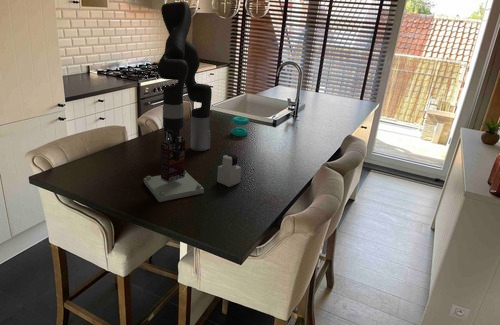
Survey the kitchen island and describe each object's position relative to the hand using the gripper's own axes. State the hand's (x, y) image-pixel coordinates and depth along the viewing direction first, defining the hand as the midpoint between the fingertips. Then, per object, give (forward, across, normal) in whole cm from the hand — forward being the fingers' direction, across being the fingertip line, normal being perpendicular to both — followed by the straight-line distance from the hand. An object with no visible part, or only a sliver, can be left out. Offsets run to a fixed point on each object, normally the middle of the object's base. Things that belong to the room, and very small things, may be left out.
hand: (173, 157), depth 140 cm
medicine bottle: (+13, -4, -23) cm, 27 cm away
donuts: (+13, +51, -61) cm, 81 cm away
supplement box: (+9, 0, 0) cm, 9 cm away
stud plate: (+13, 0, 0) cm, 13 cm away
